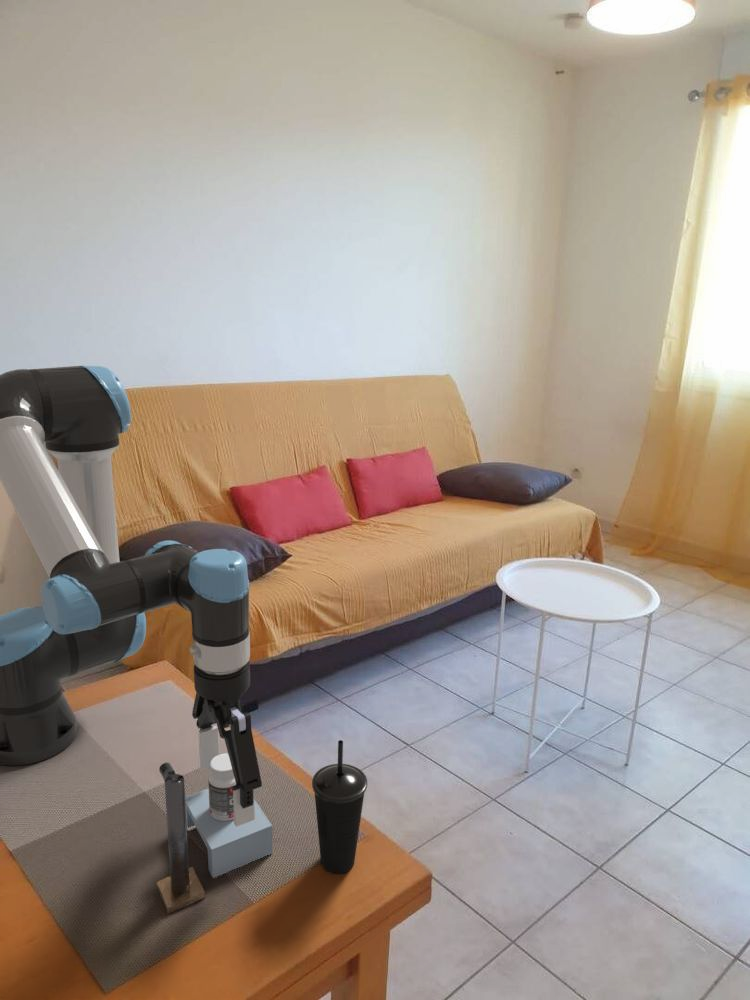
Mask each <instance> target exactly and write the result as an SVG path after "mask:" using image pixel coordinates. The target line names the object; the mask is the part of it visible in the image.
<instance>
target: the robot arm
mask: <svg viewBox="0 0 750 1000" xmlns="http://www.w3.org/2000/svg"><path fill="white" fill-rule="evenodd" d="M131 421H132V412H131V405H130V401H129V398H128V395H127V392H126V390H125V388H124V384H123V383H122V382H121V380H120V379H119V377H118V376H117V374H115V372H113V371H112V370H111V369H110V368H107V367H105V366H99V365H98V366H97V365H96V366H95V365H73V366H60V367H58V366H56V367H46V368H44V367H43V368H34V369H33V368H30V369H27V368H22V369H14V370H8V371H6V372H4V373H1V374H0V482H1V485H2V487H3V488H4V490H5V492H6V494H7V497H8V499H9V500H10V503H11V504H12V506H13V509H14V510H15V512H16V514H17V516H18V518H19V520H20V522H21V524H22V525H23V528H24V530H25V532H26V534H27V536H28V539H29V540H30V542H31V544H32V546H33V548H34V549H35V552H36V554H37V555H38V558H39V560H40V561H41V563H42V566H43V568H44V569H45V571H46V574H47V576H48V577H49V579H46V580H45V581H44V582H43V583H42V584H41V585H42V586H41V590H40V602H41V605H39V606H33V607H31V606H25V607H21V608H17V609H13V610H10V611H9V612H6V613H4V614H2V615H0V765H1V766H2V765H3V766H11V767H12V766H15V767H17V766H23V765H24V766H25V765H30V764H35V763H39V762H42V761H44V760H48V759H50V758H51V757H54V756H55V755H57V754H60V753H61V752H63V751H64V750H65V749H67V748H68V747H69V746H70V745H71V744H72V743H73V742H74V741H75V738H76V736H77V733H78V721H77V717H76V715H75V712H74V711H73V709H72V707H71V705H70V704H69V701H68V700H67V698H66V696H65V694H64V692H63V681H62V680H63V679H67V678H70V677H72V676H75V675H76V676H77V675H79V674H81V673H86V672H88V671H91V670H93V669H97V668H99V667H103V666H105V665H108V664H112V663H118V662H120V661H121V660H123V659H125V658H129V657H131V656H133V655H135V654H136V653H138V651H139V650H141V648H142V646H143V644H144V642H145V638H146V633H147V618H146V614H145V613H147V612H150V611H155V610H158V609H162V608H165V607H168V606H171V605H178V606H180V607H181V608H182V609H184V610H186V611H187V612H189V613H190V616H191V618H190V619H191V620H190V621H191V631H192V632H191V635H192V644H193V645H192V646H190V647H189V654H192V655H193V662H194V665H193V680H194V681H193V682H194V684H193V685H194V691H195V692H196V693H195V697H194V702H193V707H192V714H191V715H192V718H193V719H194V720H195V719H197V720H196V721H195V722H196V727H197V728H198V729H199V730H198V751H199V769H200V770H201V771H205V770H207V769H210V763H211V760H212V759H213V758H214V757H215V756H217V755H220V754H219V737H220V738H221V739H223V740H224V741H225V746H226V751H227V753H228V755H229V758H230V762H231V766H232V770H233V774H234V778H235V782H236V783H233V786H232V787H231V788H232V790H233V804H234V824H235V826H236V827H237V826H240V825H242V824H245V823H247V822H250V821H253V820H255V813H254V799H255V790H256V789H258V788H262V786H263V784H262V778H261V774H260V773H261V772H260V767H259V762H258V756H257V752H256V751H257V750H256V748H255V742H254V735H253V731H252V717H251V714H250V713H249V712H244V713H243V710H244V709H243V708H244V707H243V705H242V701H241V699H240V698H241V697H242V696H243V695H244V693H246V692H247V691H248V689H249V688H250V686H251V663H250V659H251V658H250V657H251V639H250V638H251V635H250V634H251V632H250V580H249V576H248V563H247V560H246V557H245V556H244V555H243V554H242V553H240V552H239V551H236V550H228V549H226V548H212V549H206V550H205V549H204V550H203V551H200V552H199V551H197V550H196V549H195V548H193V547H191V546H189V545H187V544H183V543H180V542H179V541H176V540H162V541H159V542H157V543H156V544H154V545H153V546H151V548H149V549H147V550H146V552H145V554H144V555H142V556H139V557H135V558H131V559H125V560H121V561H120V551H119V539H118V538H119V537H118V526H117V514H116V513H117V512H116V503H115V501H116V500H115V490H114V478H113V476H114V475H113V467H112V455H113V453H114V452H115V451H116V450H117V449H118V448H119V447H120V439H119V438H120V437H119V435H120V434H124V433H125V432H126V431H128V430H129V428H130V426H131V424H130V423H131ZM44 443H45V444H44ZM51 455H52V456H53V457H54V458H56V462H57V466H56V464H55V462H54V461H53V458H52V456H51ZM228 728H229V729H228ZM227 729H228V730H227Z"/></svg>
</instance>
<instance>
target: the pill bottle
mask: <svg viewBox="0 0 750 1000" xmlns="http://www.w3.org/2000/svg"><path fill="white" fill-rule="evenodd" d="M209 770H210V772H209V774H208V779H207V780H208V788H209V810H210V815H211V816H212V817H213V818H214V819H216V820H219V821H229V820H232V819H234V804H233V790H232V788H231V787H232V786H233V783H236V782H235V778H234V774H233V770H232V766H231V762H230V758H229V755H228V752H227V753H225V752H224V753H221V754H219V755H217V756H215V757H214V758H213V759H212V760H211V763H210V768H209Z"/></svg>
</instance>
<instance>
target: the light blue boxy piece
mask: <svg viewBox="0 0 750 1000" xmlns="http://www.w3.org/2000/svg"><path fill="white" fill-rule="evenodd" d="M185 806H186V825H187V827H188V828H189V827H191V826H194V825H195V826H196V830H197V832H198V834H199V836H200V837H201V839H202V841H203V843H204V845H205V847H206V848H207V862H208V865H207V866H208V872H209V871H210V873H211V875H210V876H212V877H213V878H214V877H215V876H218V875H221V876H223V875H222V874H224V873H225V872H228V871H231V870H233V869H235V870H237V869H236V868H238V867H240V866H241V867H240V868H242V866H243V865H245V864H247V865H249V864H248V863H250V862H252V861H254V862H256V861H255V860H257V859H259V860H261V859H260V858H262V857H264V856H266V857H268V856H267V855H269V856H271V855H273V824H272V823H271V821H270V820H269V818H268V817H267V816H266V814H265V813H264V811H263V809H262V808H261V806H260V805H259V804H258V802H257V801H256V799H255V798H254V813H255V820H253V821H250V822H247V823H245V824H242V825H240V826H237V827H236V826H235V824H234V819H232V820H229V821H219V820H216V819H214V818H213V817H212V816H211V815H210V810H209V787H208V788H206V789H203V790H200V791H197V792H194V793H191V794H189V795H185ZM270 854H271V855H270ZM264 858H265V857H264ZM262 859H263V858H262ZM257 861H258V860H257ZM252 863H253V862H252ZM250 864H251V863H250ZM245 866H246V865H245ZM243 867H244V866H243ZM238 869H239V868H238ZM233 871H234V870H233ZM231 872H232V871H231ZM210 873H209V874H210ZM228 873H229V872H228ZM224 875H225V874H224ZM212 877H211V878H212ZM214 879H215V878H214Z"/></svg>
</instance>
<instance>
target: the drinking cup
mask: <svg viewBox="0 0 750 1000" xmlns="http://www.w3.org/2000/svg"><path fill="white" fill-rule="evenodd" d="M343 757H344V741H343V740H338V741H337V763H333V764H328V765H326V766H323V767H322V768H320V769H319V770H317V772H315V773H314V775H313V777H312V779H311V786H312V787H311V788H312V790H313V792H314V800H315V801H314V802H315V810H316V822H317V834H318V843H319V844H318V845H319V854H320V855H319V856H320V864H321V867H322V868H323V869H324V870H325V871H326V872H328V873H330V874H334V875H340V874H343V875H344V874H345V873H348V872H349V871H350V870H351V869H352V868H354V865H355V861H356V860H355V859H356V853H357V846H358V841H359V832H360V827H361V819H362V818H361V817H362V811H363V803H364V797H365V792H366V791H367V788H368V778H367V776H366V774H365V773H364V771H363V770H361V769H360V768H358V767H356V766H354V765H351V764H346V763H343V761H344V759H343Z"/></svg>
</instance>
